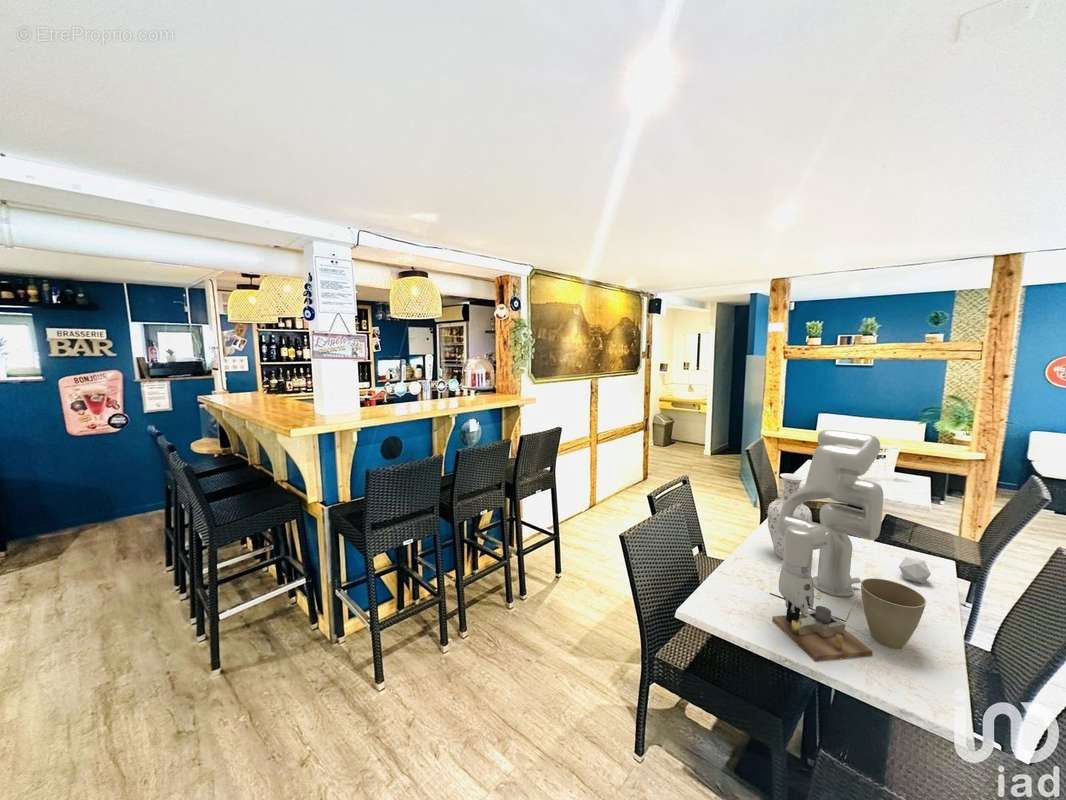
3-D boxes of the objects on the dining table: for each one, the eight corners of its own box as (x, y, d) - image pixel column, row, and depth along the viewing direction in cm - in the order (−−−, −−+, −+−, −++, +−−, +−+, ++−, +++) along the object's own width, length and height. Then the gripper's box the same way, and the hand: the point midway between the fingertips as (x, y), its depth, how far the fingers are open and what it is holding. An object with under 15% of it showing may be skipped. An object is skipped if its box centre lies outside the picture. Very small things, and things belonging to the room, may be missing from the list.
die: (919, 590, 155) (940, 570, 154) (893, 570, 161) (913, 551, 159) (915, 588, 162) (935, 569, 161) (890, 569, 167) (909, 551, 166)
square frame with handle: (820, 617, 136) (821, 606, 136) (844, 633, 129) (845, 622, 128) (781, 624, 132) (782, 614, 132) (803, 641, 125) (804, 630, 124)
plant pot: (849, 620, 137) (854, 574, 135) (907, 632, 132) (912, 584, 130) (865, 650, 124) (870, 599, 122) (930, 664, 118) (936, 611, 116)
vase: (818, 565, 172) (825, 482, 168) (779, 566, 171) (786, 482, 167) (791, 546, 188) (797, 470, 184) (756, 547, 187) (761, 471, 183)
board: (822, 616, 139) (824, 595, 138) (872, 655, 121) (874, 631, 121) (772, 620, 137) (773, 599, 136) (815, 661, 119) (817, 636, 118)
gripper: (826, 579, 123) (821, 637, 126) (791, 554, 138) (787, 606, 140) (802, 580, 123) (798, 638, 125) (769, 555, 137) (766, 607, 140)
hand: (792, 621), depth 133 cm, fingers closed
